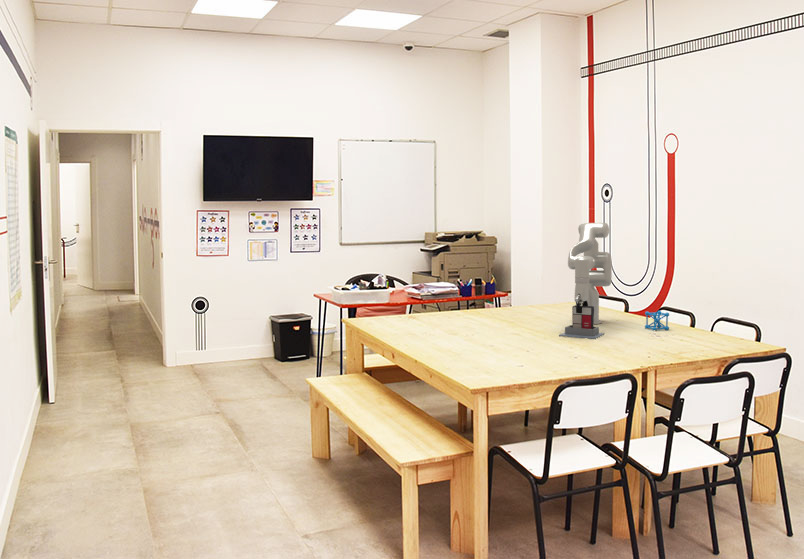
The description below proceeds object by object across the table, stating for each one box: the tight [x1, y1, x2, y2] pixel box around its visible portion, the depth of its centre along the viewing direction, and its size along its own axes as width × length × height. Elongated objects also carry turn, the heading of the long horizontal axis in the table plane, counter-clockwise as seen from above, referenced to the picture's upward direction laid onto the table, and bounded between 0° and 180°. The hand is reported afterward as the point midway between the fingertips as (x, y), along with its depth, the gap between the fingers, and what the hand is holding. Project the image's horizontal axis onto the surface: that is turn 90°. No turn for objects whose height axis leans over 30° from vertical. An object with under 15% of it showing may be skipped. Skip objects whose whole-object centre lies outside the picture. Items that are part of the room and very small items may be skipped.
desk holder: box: [558, 324, 605, 340], centre depth 397 cm, size 16×20×4 cm
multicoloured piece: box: [571, 304, 595, 329], centre depth 398 cm, size 11×4×15 cm, turn 58°
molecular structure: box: [644, 310, 670, 331], centre depth 411 cm, size 10×10×10 cm
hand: (582, 311), depth 397 cm, fingers open, 9 cm apart
